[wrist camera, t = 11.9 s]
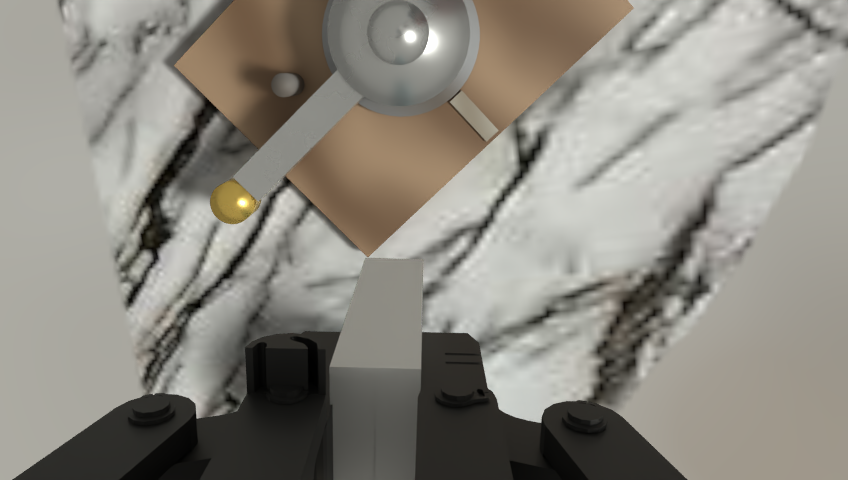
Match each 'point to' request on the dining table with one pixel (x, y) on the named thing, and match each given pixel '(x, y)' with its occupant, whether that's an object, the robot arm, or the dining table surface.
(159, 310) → the dining table surface
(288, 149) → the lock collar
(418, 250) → the dining table surface
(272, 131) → the post board
